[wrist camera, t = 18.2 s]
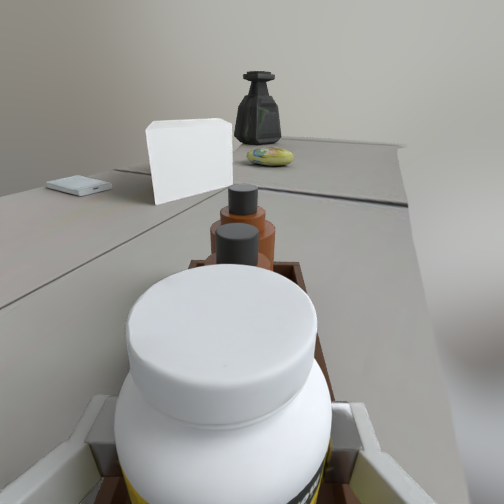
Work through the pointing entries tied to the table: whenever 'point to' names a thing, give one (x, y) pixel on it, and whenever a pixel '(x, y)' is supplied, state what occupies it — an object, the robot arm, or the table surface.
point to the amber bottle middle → (237, 246)
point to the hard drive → (79, 185)
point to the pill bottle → (223, 391)
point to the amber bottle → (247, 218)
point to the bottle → (258, 112)
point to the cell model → (270, 156)
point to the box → (189, 157)
